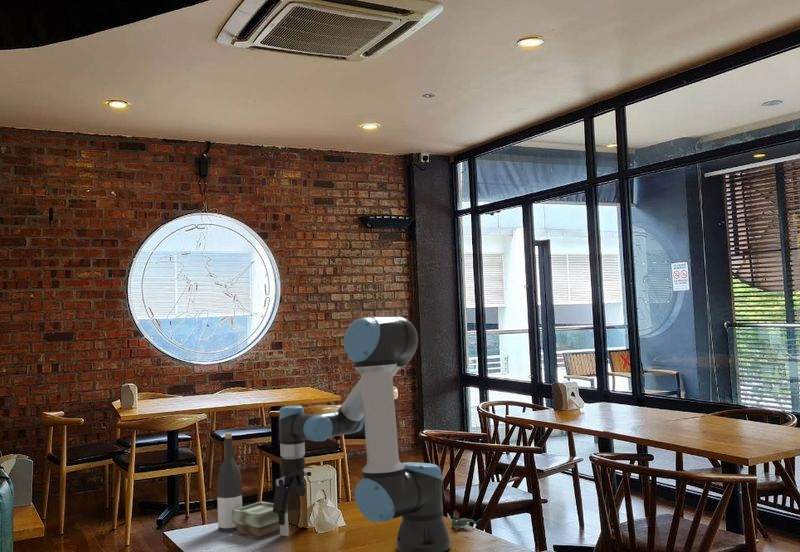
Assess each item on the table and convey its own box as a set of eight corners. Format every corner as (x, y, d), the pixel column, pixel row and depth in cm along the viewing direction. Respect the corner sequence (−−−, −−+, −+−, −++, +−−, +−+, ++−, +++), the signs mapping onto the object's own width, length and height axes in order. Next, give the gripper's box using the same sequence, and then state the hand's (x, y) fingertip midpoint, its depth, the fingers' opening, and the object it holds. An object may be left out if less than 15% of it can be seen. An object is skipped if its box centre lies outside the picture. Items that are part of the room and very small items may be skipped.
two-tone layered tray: (288, 529, 229) (287, 505, 230) (259, 539, 219) (258, 514, 220) (261, 524, 236) (260, 501, 237) (232, 534, 226) (231, 509, 227)
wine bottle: (213, 533, 229) (210, 435, 231) (223, 525, 237) (221, 431, 238) (237, 533, 227) (235, 435, 229) (247, 526, 235) (245, 431, 237)
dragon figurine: (472, 515, 230) (448, 514, 227) (481, 508, 224) (457, 506, 222) (474, 537, 226) (450, 535, 224) (483, 530, 220) (459, 528, 218)
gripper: (307, 450, 238) (309, 521, 237) (258, 461, 221) (260, 538, 220) (324, 451, 234) (326, 524, 232) (276, 463, 217) (278, 542, 215)
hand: (294, 531), depth 226 cm, fingers open, 8 cm apart
